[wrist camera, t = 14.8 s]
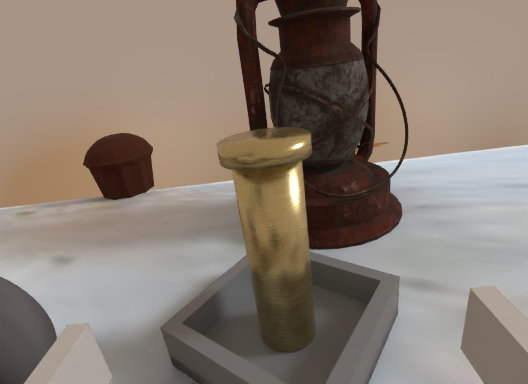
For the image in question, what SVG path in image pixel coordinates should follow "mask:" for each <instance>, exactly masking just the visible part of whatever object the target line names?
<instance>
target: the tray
mask: <svg viewBox="0 0 528 384" xmlns="http://www.w3.org/2000/svg"><path fill="white" fill-rule="evenodd" d="M310 261H311V273H312V284H313V296H314V308H315V320H316V335H315V337H314V339H313V341H312V342H311V343H310V344H309V345H308V346H307V347H305V348H304V349H302V350H299V351H296V352H292V353H283V352H278V351H275V350H273V349H271V348H269V347H268V346H267V345H266V344H265V343H264V341H263V340H262V337H261V333H260V327H259V321H258V316H257V310H256V304H255V299H254V293H253V287H252V281H251V276H250V270H249V264H248V259H247V255H246V256H245V257H243V258H242V259H241V260H240V261H239V262H237V263H236V264H235V265H234V266H233V267H232V268H230V269H229V270H228V271H227V272H226V273H224V274H223V275H222V276H221V277H220V278H219V279H217V280H216V281H215V282H214V283H213V284H211V285H210V286H209V287H208V288H207V289H205V290H204V291H203V292H202V293H201V294H200V295H198V296H197V297H196V298H195V299H194V300H192V301H191V302H190V303H189V304H188V305H187V306H185V307H184V308H183V309H182V310H181V311H179V312H178V313H177V314H176V315H175V316H174V317H172V318H171V319H170V320H169V321H168V322H166V323H165V324H164V325H163V326H162V327H161V331H162V334H163V337H164V340H165V343H166V346H167V349H168V352H169V355H170V358H171V361H172V364H173V365H174V366H175V367H177V368H178V369H180V370H181V371H182V372H184V373H185V374H187V375H188V376H189V377H191V378H192V379H194V380H195V381H196V382H198V383H199V384H368V383H369V380H370V378H371V376H372V373H373V371H374V369H375V366H376V364H377V362H378V359H379V357H380V354H381V352H382V350H383V347H384V345H385V343H386V340H387V338H388V335H389V333H390V331H391V328H392V326H393V324H394V321H395V319H396V317H397V314H398V297H399V279H400V277H399V276H395V275H392V274H388V273H384V272H381V271H377V270H374V269H370V268H366V267H363V266H359V265H356V264H352V263H348V262H345V261H341V260H338V259H334V258H330V257H327V256H323V255H320V254H316V253H312V252H310Z"/></svg>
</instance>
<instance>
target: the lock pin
mask: <svg viewBox="0 0 528 384" xmlns="http://www.w3.org/2000/svg"><path fill="white" fill-rule="evenodd" d="M217 151H218V156H219V161H220V165H221V166H222V167H224V168H227V169H230V170H232V173H233V178H234V184H235V190H236V196H237V201H238V207H239V213H240V218H241V224H242V230H243V236H244V241H245V247H246V253H247V259H248V264H249V270H250V276H251V281H252V287H253V293H254V299H255V304H256V310H257V316H258V321H259V327H260V333H261V337H262V340H263V341H264V343H265V344H266V345H267V346H268V347H269V348H271V349H273V350H275V351H278V352H283V353H292V352H296V351H299V350H302V349H304V348H305V347H307V346H308V345H309V344H310V343H311V342H312V341H313V339H314V337H315V335H316V320H315V308H314V296H313V284H312V273H311V261H310V249H309V237H308V226H307V214H306V202H305V191H304V179H303V167H302V160H304V159H306V158H308V157H309V156H310V155H311V153H312V142H311V132H310V131H309V130H307V129H303V128H297V127H275V128H265V129H258V130H252V131H247V132H242V133H239V134H235V135H232V136H229V137H226V138H224V139H222V140H221V141H219V142H218V143H217Z"/></svg>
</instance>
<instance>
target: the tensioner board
mask: <svg viewBox="0 0 528 384" xmlns="http://www.w3.org/2000/svg"><path fill="white" fill-rule="evenodd" d="M56 340H57V339H56V332H55V328H54V326H53V323H52V321H51V319H50V318H49V316H48V314H47V313H46V311H45V310H44V309H43V308H42V306H41V305H40V304H39V303H38V302H37V301H36V300H35V299H34V298H33V297H32V296H30V295H29V294H28V293H27V292H26V291H24V290H23V289H21V288H20V287H18V286H17V285H15V284H13V283H12V282H10V281H8V280H6V279H4V278H2V277H0V384H24V383H25V382H26V380H27V379H28V378H29V376H30V375H31V373H32V372H33V371H34V369H35V368H36V367H37V365H38V364H39V363H40V361H41V360H42V359H43V357H44V356H45V355H46V353H47V352H48V351H49V349H50V348H51V347H52V345H53V344H54V343H55V341H56Z"/></svg>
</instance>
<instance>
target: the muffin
mask: <svg viewBox="0 0 528 384" xmlns="http://www.w3.org/2000/svg"><path fill="white" fill-rule="evenodd" d="M152 151H153V147H152V146H151V145H150V144H149V143H148V142H147V141H146V140H144V139H143V138H141V137H139V136H136V135H133V134H129V133H119V134H113V135H109V136H105V137H103V138H101V139H99V140H97V141H96V142H95V143H94V144H93V145H92V146H91V147H90V149H89V150H88V151H87V153H86V155H85V159H84V163H83V165H84V166H86V167H87V168H89V170H90V172H91V174H92V175H93V177H94V179H95V181H96V183H97V185H98V187H99V188H100V190H101V192H102V194H103V196H104V198H109V199H113V200H117V199H122V198H131V197H133V196H136V195H138V194H141V193H145V192H147V191H148V190H149V189H150V188H152V187H153V186H154V180H153V171H152V163H151V154H152Z"/></svg>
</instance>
